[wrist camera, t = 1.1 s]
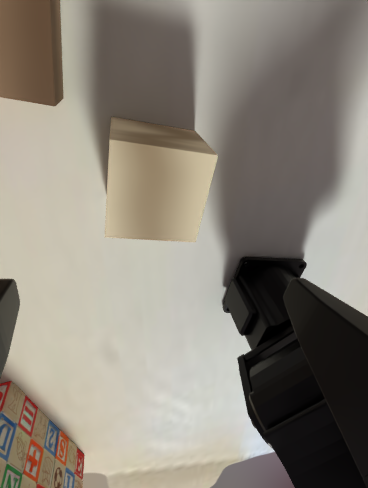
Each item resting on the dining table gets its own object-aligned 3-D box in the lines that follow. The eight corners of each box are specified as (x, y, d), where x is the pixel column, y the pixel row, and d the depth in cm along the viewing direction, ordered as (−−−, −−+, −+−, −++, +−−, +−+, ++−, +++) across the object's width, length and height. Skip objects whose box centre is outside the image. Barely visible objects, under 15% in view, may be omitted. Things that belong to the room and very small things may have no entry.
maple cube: (194, 130, 17) (218, 155, 13) (179, 203, 20) (195, 242, 16) (111, 116, 16) (109, 139, 12) (107, 196, 18) (104, 237, 14)
